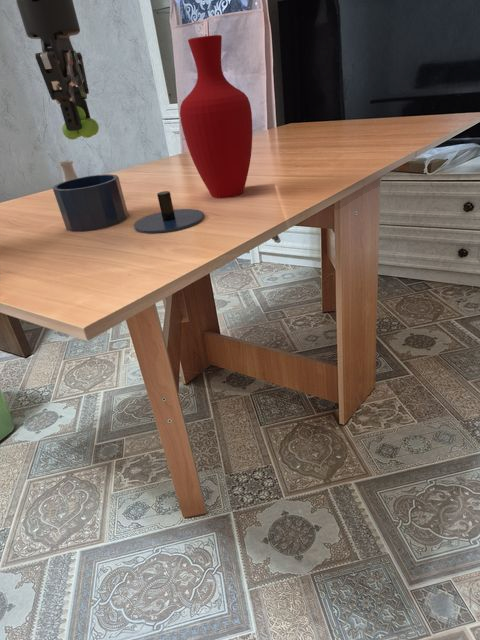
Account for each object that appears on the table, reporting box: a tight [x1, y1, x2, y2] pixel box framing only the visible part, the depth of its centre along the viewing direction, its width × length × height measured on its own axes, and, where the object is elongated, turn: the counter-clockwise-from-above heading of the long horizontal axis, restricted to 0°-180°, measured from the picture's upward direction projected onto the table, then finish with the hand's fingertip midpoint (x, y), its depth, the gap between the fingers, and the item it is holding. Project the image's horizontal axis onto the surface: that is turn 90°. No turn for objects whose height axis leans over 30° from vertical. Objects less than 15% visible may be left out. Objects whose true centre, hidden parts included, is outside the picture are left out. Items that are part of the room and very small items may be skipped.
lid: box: [133, 190, 205, 234], centre depth 89 cm, size 14×14×6 cm
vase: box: [179, 34, 253, 199], centre depth 97 cm, size 15×15×30 cm
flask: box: [57, 160, 79, 182], centre depth 111 cm, size 7×7×10 cm
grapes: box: [61, 102, 100, 140], centre depth 74 cm, size 5×5×6 cm
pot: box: [52, 173, 129, 233], centre depth 94 cm, size 13×13×8 cm
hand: (80, 127), depth 75 cm, fingers closed on grapes, 5 cm apart
